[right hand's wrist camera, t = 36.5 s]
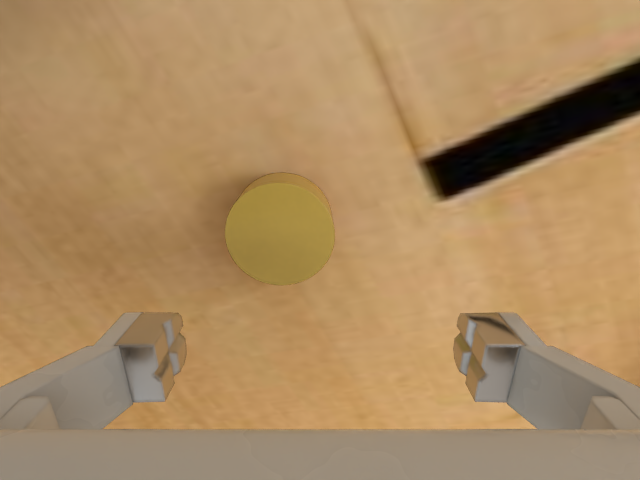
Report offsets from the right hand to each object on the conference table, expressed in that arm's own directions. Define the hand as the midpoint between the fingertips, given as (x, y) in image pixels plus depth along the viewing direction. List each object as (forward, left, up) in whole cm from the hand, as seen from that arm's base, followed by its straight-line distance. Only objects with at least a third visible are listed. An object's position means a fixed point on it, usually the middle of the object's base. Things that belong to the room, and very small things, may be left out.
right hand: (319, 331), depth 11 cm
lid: (+2, 0, -7) cm, 7 cm away
